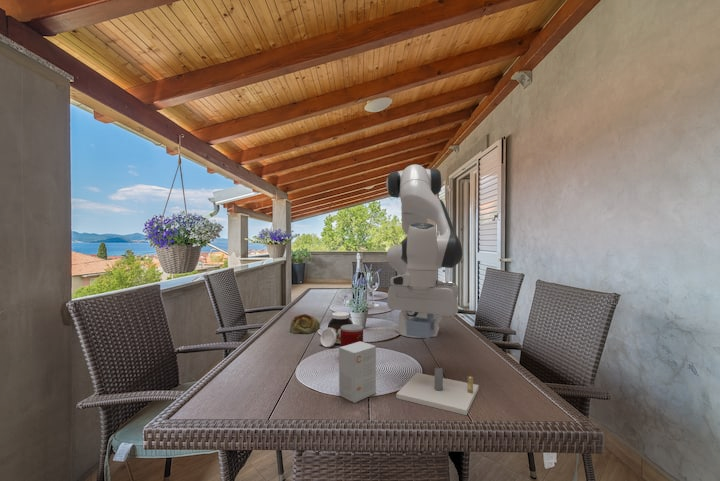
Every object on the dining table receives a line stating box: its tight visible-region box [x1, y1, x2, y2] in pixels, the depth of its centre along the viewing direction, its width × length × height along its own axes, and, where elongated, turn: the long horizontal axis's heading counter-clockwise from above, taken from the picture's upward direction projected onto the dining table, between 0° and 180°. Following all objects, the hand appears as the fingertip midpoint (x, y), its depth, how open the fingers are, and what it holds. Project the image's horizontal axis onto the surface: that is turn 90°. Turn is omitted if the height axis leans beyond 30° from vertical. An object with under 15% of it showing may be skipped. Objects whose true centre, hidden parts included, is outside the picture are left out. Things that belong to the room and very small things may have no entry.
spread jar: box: [320, 311, 354, 348], centre depth 137 cm, size 12×11×12 cm
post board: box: [396, 366, 479, 416], centre depth 94 cm, size 16×18×7 cm
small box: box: [338, 341, 377, 404], centre depth 94 cm, size 8×6×13 cm
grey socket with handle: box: [406, 313, 437, 339], centre depth 102 cm, size 12×6×5 cm, turn 150°
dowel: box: [467, 375, 474, 393], centre depth 93 cm, size 1×1×4 cm
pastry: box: [289, 313, 321, 335], centre depth 157 cm, size 14×12×8 cm
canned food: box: [339, 323, 364, 347], centre depth 121 cm, size 8×8×11 cm
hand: (421, 328), depth 100 cm, fingers closed on grey socket with handle, 6 cm apart
